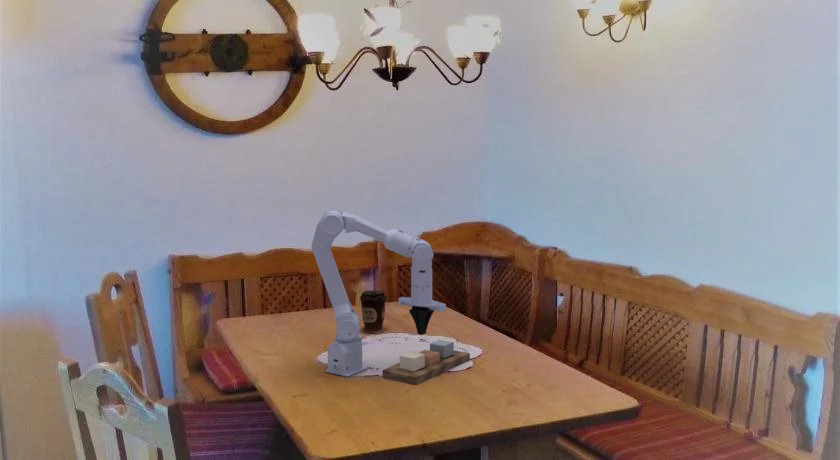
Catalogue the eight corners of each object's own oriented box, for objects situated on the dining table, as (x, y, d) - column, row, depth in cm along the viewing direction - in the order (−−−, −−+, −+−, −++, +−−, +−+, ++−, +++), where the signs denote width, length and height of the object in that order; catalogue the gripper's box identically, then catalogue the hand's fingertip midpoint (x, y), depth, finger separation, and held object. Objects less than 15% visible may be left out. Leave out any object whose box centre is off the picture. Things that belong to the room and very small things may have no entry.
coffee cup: (374, 336, 253) (373, 295, 251) (354, 332, 258) (354, 292, 256) (391, 330, 260) (391, 291, 258) (372, 326, 265) (371, 288, 263)
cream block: (414, 371, 211) (414, 358, 210) (399, 368, 213) (399, 355, 213) (424, 366, 215) (424, 354, 214) (410, 363, 217) (410, 351, 217)
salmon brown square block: (429, 369, 216) (429, 356, 216) (415, 366, 219) (415, 353, 219) (439, 364, 220) (439, 352, 220) (425, 361, 223) (425, 349, 223)
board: (415, 385, 206) (415, 377, 206) (382, 377, 213) (382, 370, 212) (469, 360, 227) (469, 353, 227) (437, 353, 234) (437, 347, 233)
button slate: (444, 358, 222) (444, 346, 221) (429, 355, 225) (429, 343, 224) (453, 354, 226) (453, 342, 225) (439, 351, 229) (439, 339, 228)
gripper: (452, 285, 216) (451, 334, 218) (409, 279, 225) (409, 326, 227) (437, 290, 211) (437, 340, 213) (393, 283, 219) (394, 332, 221)
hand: (421, 333), depth 219 cm, fingers closed
